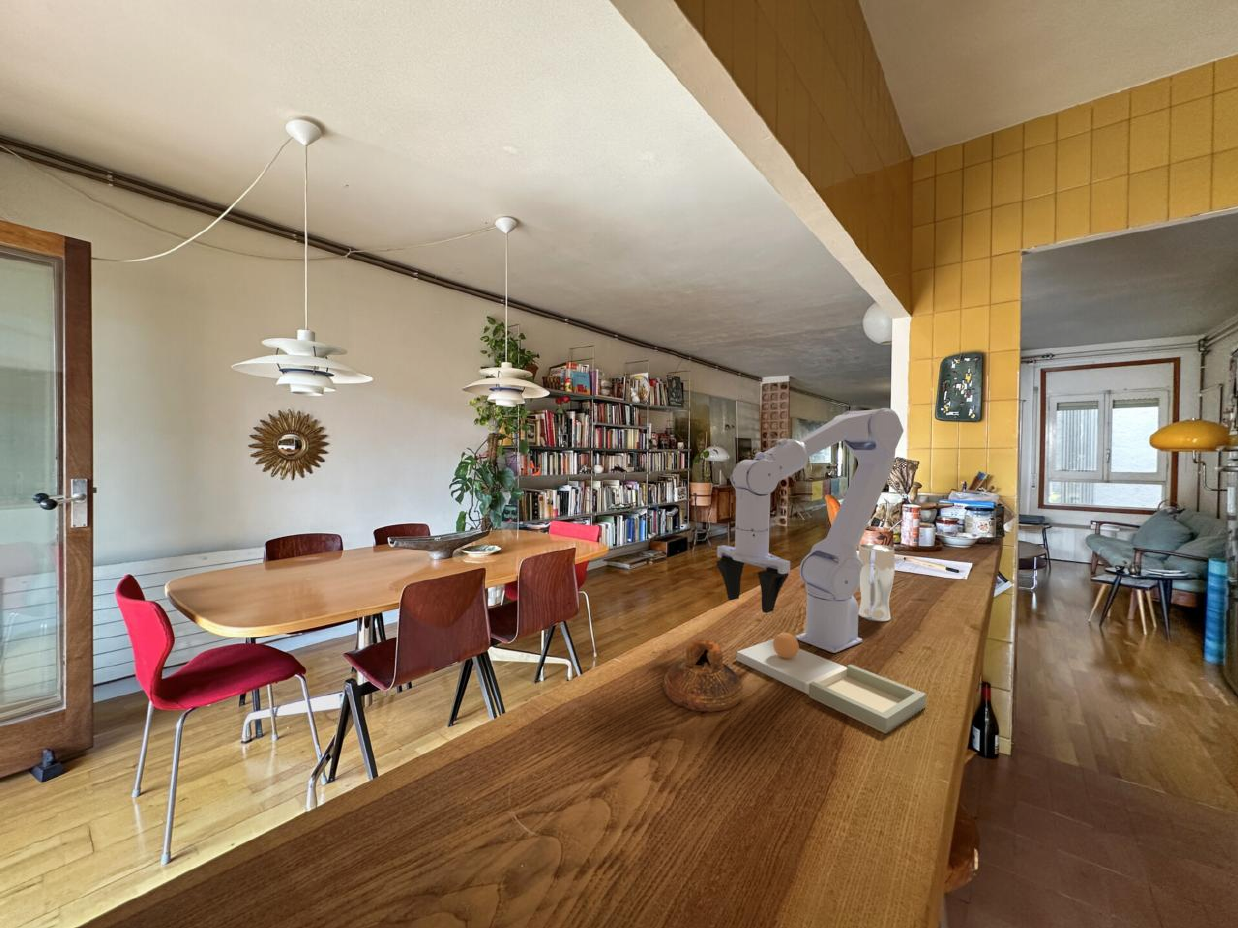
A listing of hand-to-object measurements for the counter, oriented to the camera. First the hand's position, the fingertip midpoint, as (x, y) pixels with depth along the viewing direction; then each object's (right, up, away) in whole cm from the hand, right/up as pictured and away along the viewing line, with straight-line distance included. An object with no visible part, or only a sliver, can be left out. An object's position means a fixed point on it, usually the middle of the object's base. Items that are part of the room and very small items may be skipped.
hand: (750, 605), depth 87 cm
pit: (+12, -9, -17) cm, 23 cm away
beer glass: (+31, -8, +18) cm, 37 cm away
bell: (-11, -9, -14) cm, 20 cm away
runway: (+5, -9, -7) cm, 12 cm away
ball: (+4, -5, -6) cm, 9 cm away
